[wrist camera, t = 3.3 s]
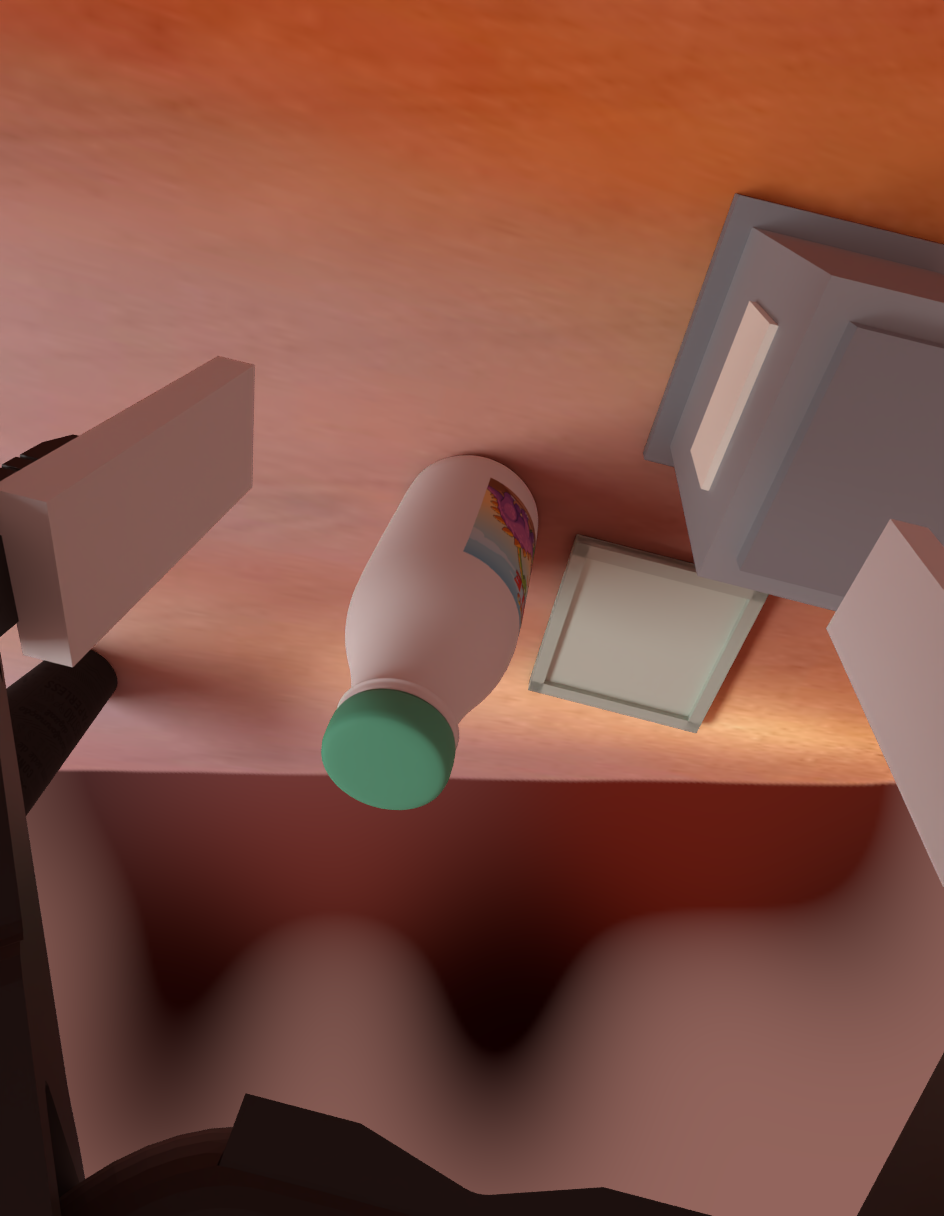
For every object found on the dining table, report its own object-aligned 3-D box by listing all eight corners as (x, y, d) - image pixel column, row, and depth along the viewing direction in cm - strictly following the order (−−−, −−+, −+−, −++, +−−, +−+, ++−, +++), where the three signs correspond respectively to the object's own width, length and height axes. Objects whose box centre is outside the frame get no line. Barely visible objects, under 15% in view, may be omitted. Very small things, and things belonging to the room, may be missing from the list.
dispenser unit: (735, 193, 31) (820, 229, 19) (963, 249, 31) (1200, 322, 19) (643, 452, 38) (661, 604, 26) (830, 499, 38) (939, 674, 25)
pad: (576, 533, 41) (576, 542, 40) (766, 582, 41) (770, 591, 40) (529, 680, 47) (528, 690, 46) (694, 722, 47) (696, 733, 46)
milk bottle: (404, 564, 44) (282, 825, 27) (406, 442, 40) (263, 662, 23) (531, 582, 43) (485, 860, 26) (547, 459, 39) (504, 699, 22)
